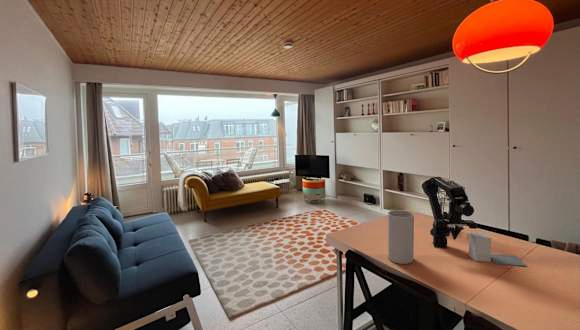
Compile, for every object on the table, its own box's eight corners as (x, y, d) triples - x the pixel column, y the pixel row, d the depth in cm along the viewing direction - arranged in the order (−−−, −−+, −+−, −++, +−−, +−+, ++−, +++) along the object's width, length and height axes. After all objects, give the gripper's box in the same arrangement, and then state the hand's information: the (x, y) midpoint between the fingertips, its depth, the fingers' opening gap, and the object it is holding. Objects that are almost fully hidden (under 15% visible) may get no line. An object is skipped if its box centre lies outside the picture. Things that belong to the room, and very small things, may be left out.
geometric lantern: (463, 231, 179) (465, 179, 174) (463, 240, 166) (465, 184, 161) (436, 227, 188) (437, 177, 183) (434, 235, 175) (435, 182, 169)
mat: (495, 264, 135) (495, 262, 135) (486, 254, 146) (486, 253, 146) (526, 266, 132) (526, 265, 131) (515, 256, 142) (515, 255, 142)
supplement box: (491, 261, 138) (492, 238, 136) (474, 261, 139) (475, 237, 138) (483, 255, 145) (484, 232, 143) (468, 254, 146) (469, 232, 145)
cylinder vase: (402, 267, 137) (402, 218, 134) (383, 257, 148) (382, 212, 145) (418, 260, 143) (419, 214, 140) (399, 251, 154) (399, 208, 151)
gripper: (470, 207, 147) (469, 234, 149) (432, 205, 153) (431, 232, 155) (477, 213, 137) (476, 242, 139) (436, 211, 143) (436, 240, 144)
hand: (454, 239), depth 144 cm, fingers closed
